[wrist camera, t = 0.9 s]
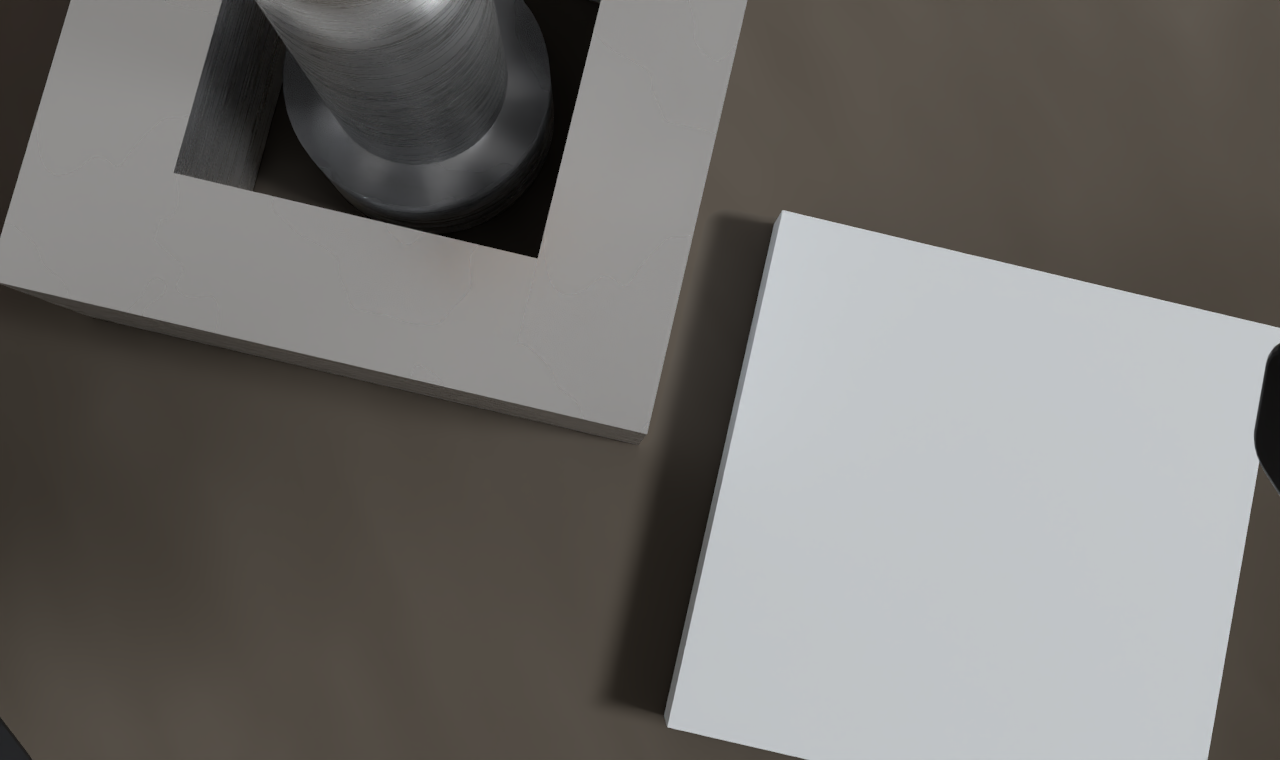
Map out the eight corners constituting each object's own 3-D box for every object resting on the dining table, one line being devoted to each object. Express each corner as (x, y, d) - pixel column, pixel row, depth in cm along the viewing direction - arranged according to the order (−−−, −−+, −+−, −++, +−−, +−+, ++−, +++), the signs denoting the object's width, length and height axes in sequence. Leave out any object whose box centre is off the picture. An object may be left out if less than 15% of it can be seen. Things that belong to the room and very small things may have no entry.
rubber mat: (1163, 831, 21) (1192, 847, 20) (664, 716, 21) (667, 727, 20) (1250, 336, 22) (1281, 328, 21) (774, 223, 22) (782, 210, 21)
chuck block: (638, 445, 21) (647, 433, 18) (88, 316, 21) (-13, 279, 17) (759, -75, 22) (789, -183, 19) (237, -200, 22) (169, -332, 18)
